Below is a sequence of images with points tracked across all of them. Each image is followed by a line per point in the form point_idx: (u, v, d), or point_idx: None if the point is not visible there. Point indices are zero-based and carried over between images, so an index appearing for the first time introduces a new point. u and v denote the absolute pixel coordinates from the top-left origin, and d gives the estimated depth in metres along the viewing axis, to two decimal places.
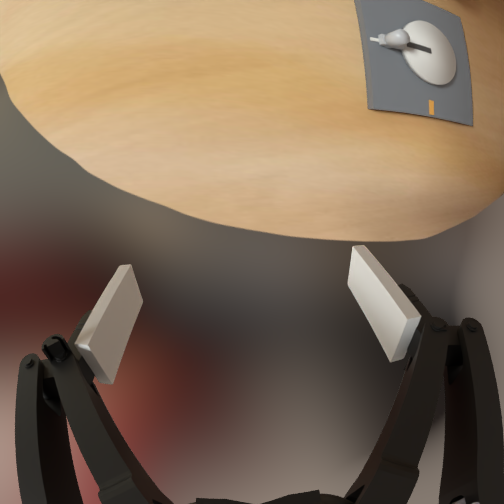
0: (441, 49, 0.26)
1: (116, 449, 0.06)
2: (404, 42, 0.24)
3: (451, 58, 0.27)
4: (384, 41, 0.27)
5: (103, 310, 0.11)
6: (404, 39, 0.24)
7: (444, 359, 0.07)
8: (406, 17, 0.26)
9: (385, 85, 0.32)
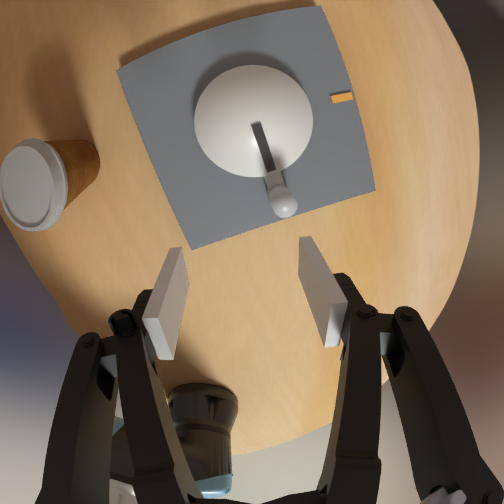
0: (235, 102, 0.24)
1: (165, 437, 0.06)
2: (295, 202, 0.26)
3: (238, 76, 0.23)
4: None
5: (166, 286, 0.13)
6: (290, 203, 0.26)
7: (378, 344, 0.09)
8: (208, 167, 0.29)
9: (342, 180, 0.30)
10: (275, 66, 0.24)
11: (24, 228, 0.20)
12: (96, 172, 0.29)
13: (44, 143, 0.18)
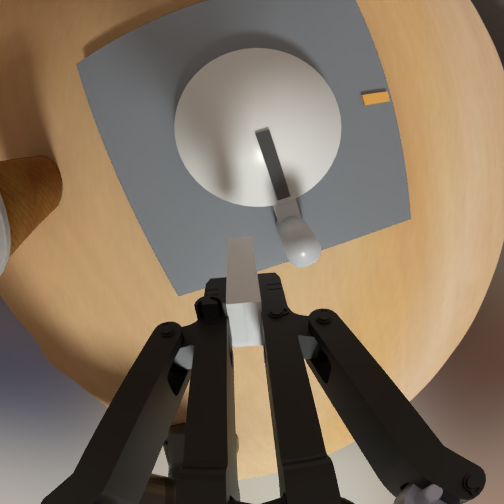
0: (233, 100, 0.17)
1: (226, 435, 0.06)
2: (318, 246, 0.18)
3: (237, 63, 0.15)
4: None
5: (240, 273, 0.13)
6: (311, 247, 0.18)
7: (297, 342, 0.09)
8: (196, 191, 0.21)
9: (373, 207, 0.23)
10: (288, 52, 0.16)
11: None
12: (57, 197, 0.21)
13: None
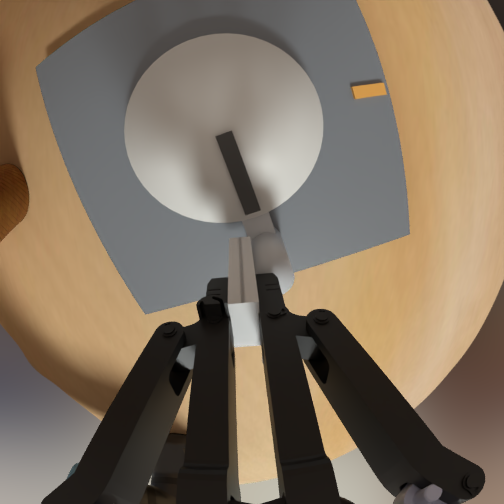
0: (188, 97, 0.14)
1: (228, 435, 0.06)
2: (291, 272, 0.15)
3: (193, 54, 0.12)
4: None
5: (241, 273, 0.13)
6: (281, 275, 0.15)
7: (296, 342, 0.09)
8: (155, 203, 0.18)
9: (364, 221, 0.20)
10: (260, 37, 0.13)
11: None
12: (24, 207, 0.18)
13: None
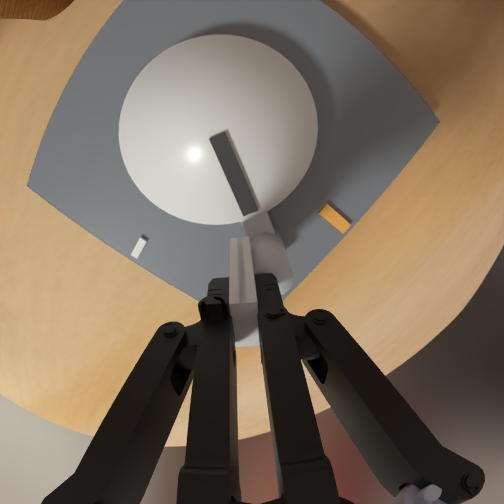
0: (180, 101, 0.14)
1: (229, 435, 0.06)
2: (290, 272, 0.15)
3: (183, 57, 0.12)
4: None
5: (242, 273, 0.13)
6: (280, 275, 0.15)
7: (294, 343, 0.09)
8: (115, 121, 0.15)
9: None
10: (318, 107, 0.15)
11: None
12: (51, 13, 0.10)
13: None
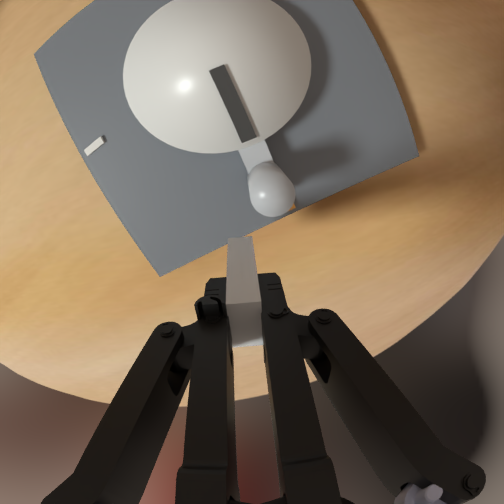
0: (183, 40, 0.13)
1: (226, 435, 0.06)
2: (291, 187, 0.14)
3: (186, 6, 0.11)
4: None
5: (240, 273, 0.13)
6: (281, 189, 0.14)
7: (297, 342, 0.09)
8: (137, 28, 0.13)
9: (155, 223, 0.20)
10: (312, 89, 0.16)
11: None
12: None
13: None
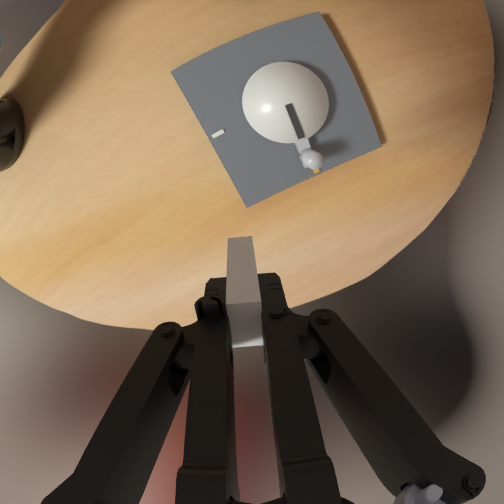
0: (272, 88, 0.32)
1: (226, 435, 0.06)
2: (322, 157, 0.33)
3: (273, 70, 0.31)
4: None
5: (240, 273, 0.13)
6: (318, 158, 0.33)
7: (297, 342, 0.09)
8: (243, 74, 0.32)
9: (249, 177, 0.39)
10: (328, 115, 0.35)
11: None
12: None
13: None
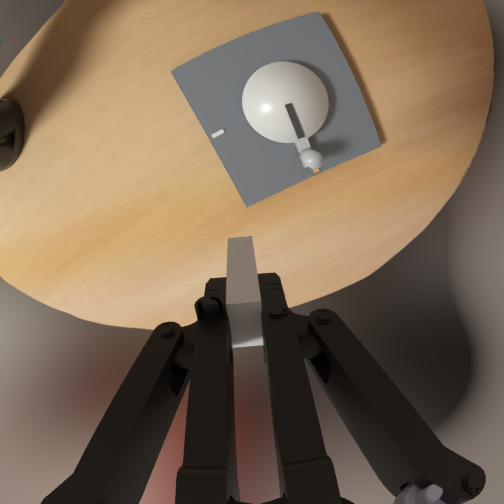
0: (272, 88, 0.32)
1: (226, 435, 0.06)
2: (322, 157, 0.33)
3: (273, 70, 0.31)
4: None
5: (239, 274, 0.13)
6: (318, 158, 0.33)
7: (297, 342, 0.09)
8: (243, 74, 0.32)
9: (249, 176, 0.39)
10: (327, 114, 0.35)
11: None
12: None
13: None
